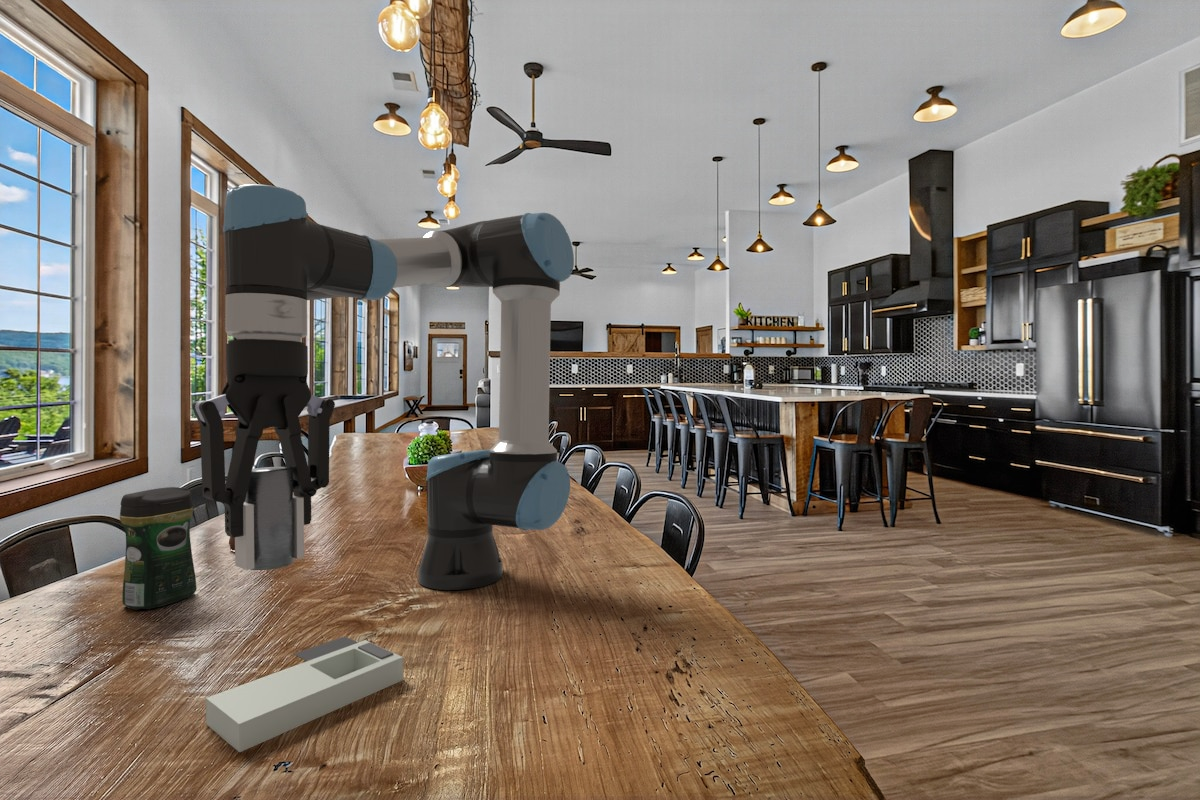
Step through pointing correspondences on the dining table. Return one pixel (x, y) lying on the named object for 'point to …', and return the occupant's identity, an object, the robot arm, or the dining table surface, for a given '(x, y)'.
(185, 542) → the coffee jar
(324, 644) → the mat
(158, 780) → the dining table surface
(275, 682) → the slotted holder block
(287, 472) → the barrel peg
